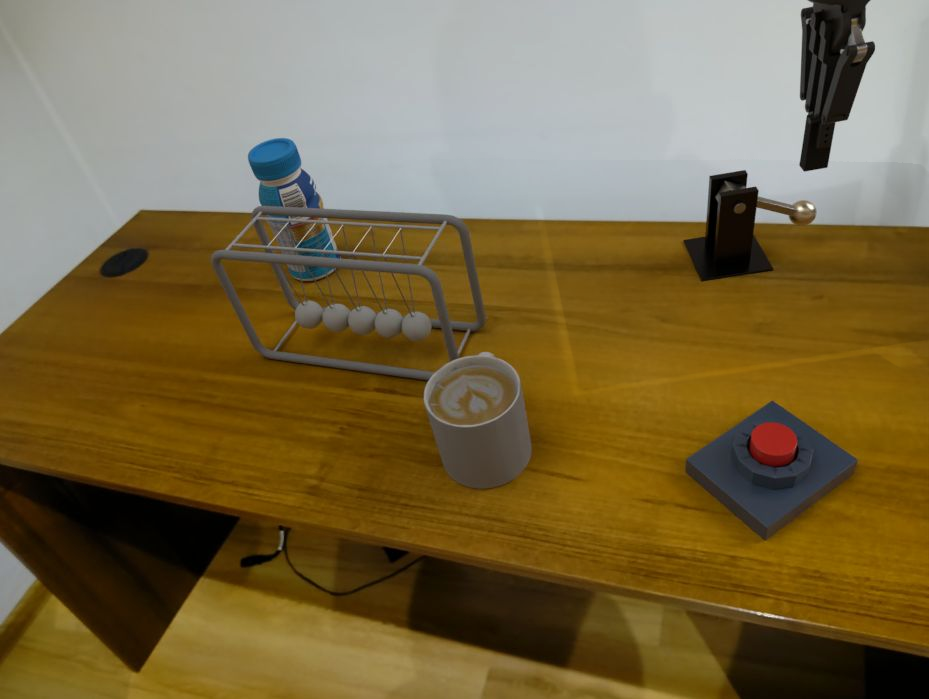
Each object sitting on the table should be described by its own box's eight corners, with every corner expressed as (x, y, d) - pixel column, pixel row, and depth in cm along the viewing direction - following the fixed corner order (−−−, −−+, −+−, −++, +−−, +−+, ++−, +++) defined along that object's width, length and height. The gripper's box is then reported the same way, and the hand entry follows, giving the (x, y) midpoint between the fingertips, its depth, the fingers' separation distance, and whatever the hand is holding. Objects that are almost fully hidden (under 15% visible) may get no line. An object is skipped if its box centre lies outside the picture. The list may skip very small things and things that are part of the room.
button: (769, 427, 70) (771, 415, 69) (804, 452, 68) (807, 440, 66) (740, 448, 69) (741, 436, 68) (774, 474, 66) (776, 462, 65)
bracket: (749, 236, 98) (759, 158, 90) (772, 276, 91) (784, 196, 83) (683, 246, 99) (686, 170, 91) (700, 286, 92) (706, 208, 84)
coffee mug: (515, 497, 74) (503, 434, 67) (428, 479, 77) (407, 418, 71) (550, 402, 82) (542, 338, 76) (470, 389, 86) (455, 328, 79)
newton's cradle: (257, 358, 97) (202, 252, 85) (294, 308, 104) (248, 203, 92) (463, 387, 86) (434, 270, 74) (489, 329, 93) (466, 213, 81)
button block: (769, 413, 76) (774, 388, 73) (854, 473, 69) (862, 447, 66) (684, 472, 72) (686, 447, 70) (764, 541, 66) (769, 516, 63)
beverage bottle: (280, 283, 109) (229, 166, 96) (302, 250, 115) (256, 135, 101) (331, 284, 107) (285, 164, 93) (350, 250, 112) (310, 132, 99)
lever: (801, 219, 93) (815, 198, 91) (810, 233, 91) (826, 212, 89) (712, 197, 90) (724, 175, 88) (719, 211, 88) (732, 188, 86)
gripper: (784, -58, 75) (762, 146, 91) (836, -21, 66) (801, 200, 82) (859, -73, 75) (823, 136, 90) (921, -38, 65) (870, 188, 81)
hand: (813, 166), depth 86 cm, fingers closed
